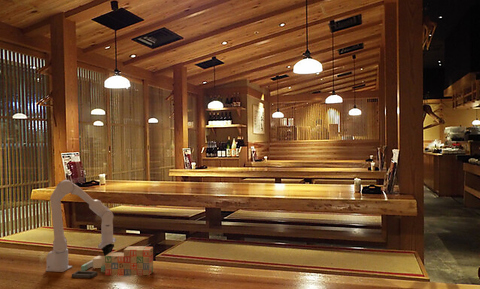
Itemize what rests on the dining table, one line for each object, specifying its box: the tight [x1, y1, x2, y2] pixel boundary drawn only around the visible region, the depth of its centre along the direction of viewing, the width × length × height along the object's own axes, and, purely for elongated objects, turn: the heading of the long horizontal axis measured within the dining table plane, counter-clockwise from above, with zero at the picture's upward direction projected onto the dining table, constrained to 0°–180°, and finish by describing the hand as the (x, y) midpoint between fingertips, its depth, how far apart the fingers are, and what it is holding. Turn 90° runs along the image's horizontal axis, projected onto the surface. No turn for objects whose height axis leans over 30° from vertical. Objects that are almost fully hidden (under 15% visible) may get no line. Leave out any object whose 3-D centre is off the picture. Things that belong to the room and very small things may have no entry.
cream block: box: [92, 255, 105, 269], centre depth 191 cm, size 5×5×5 cm
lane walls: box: [80, 259, 105, 273], centre depth 189 cm, size 12×10×2 cm
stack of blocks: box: [104, 245, 154, 277], centre depth 181 cm, size 21×6×12 cm, turn 86°
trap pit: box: [71, 270, 98, 279], centre depth 178 cm, size 10×5×2 cm, turn 80°
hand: (107, 258), depth 198 cm, fingers closed
